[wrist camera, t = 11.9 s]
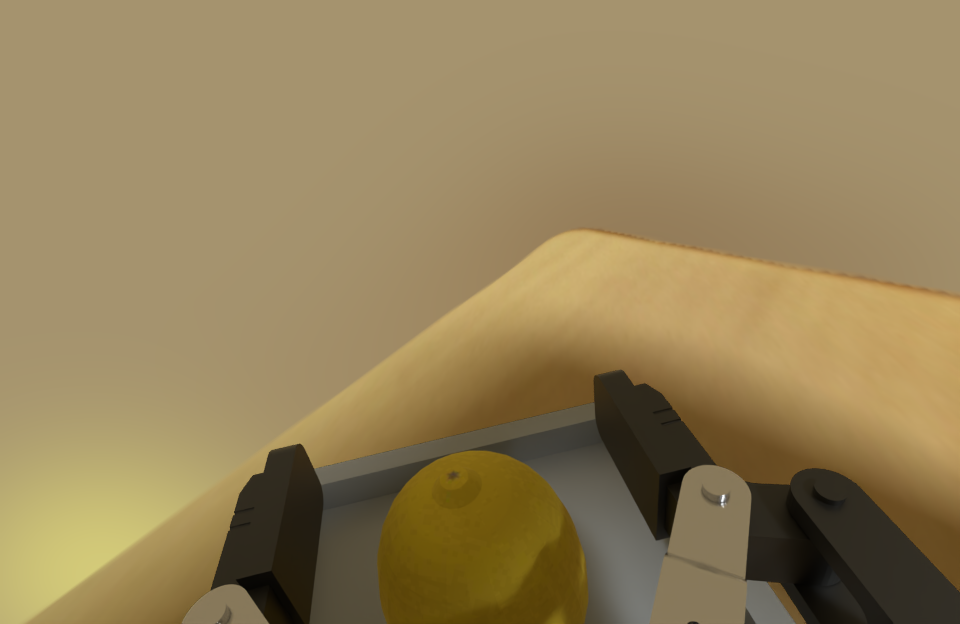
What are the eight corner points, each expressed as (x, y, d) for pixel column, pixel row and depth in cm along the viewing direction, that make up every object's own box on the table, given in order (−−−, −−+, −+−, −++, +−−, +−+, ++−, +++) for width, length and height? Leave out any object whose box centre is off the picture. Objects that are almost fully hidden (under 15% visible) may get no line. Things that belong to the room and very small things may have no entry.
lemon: (610, 585, 17) (594, 407, 13) (575, 798, 12) (534, 633, 8) (461, 547, 19) (406, 385, 15) (389, 717, 15) (284, 556, 11)
